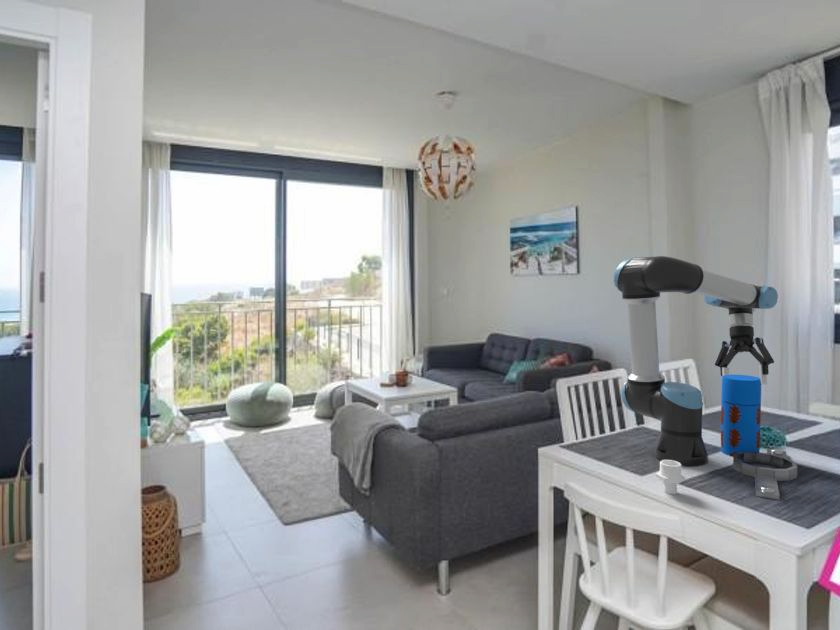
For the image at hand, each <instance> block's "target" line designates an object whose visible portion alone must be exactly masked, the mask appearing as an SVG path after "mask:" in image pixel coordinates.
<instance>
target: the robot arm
mask: <svg viewBox="0 0 840 630" xmlns="http://www.w3.org/2000/svg"><path fill="white" fill-rule="evenodd" d="M613 282H614V286H615V287H616V288H617V290H618V292H620V293H622V295H621V296H622V300H623V301H624V302H626V304H627V313H628V315H627V316H628V328H629V329H628V330H629V345H630V361H631V363H630V365H631V372H630V374H628V376H627V380H626V381H625V382H624V383H623V386H622V387H621V390H620V393H621V400H622V403H623V405H624V407H625V408H626V409H627V410H629V411H630V412H633V413H634V414H637V415H639V416H645V417H649V418H651V419H654V420H658V421H660V433H659V437H658V439H657V441H656V444H655V447H654V456H655V458H656V459H657V460H660V461H662V460H674V461H677V462H679V463H681V466H685V467H698V466H705V465H706V464H708V462H709V454H708V450H707V447H706V445H705V442H704V440H703V406H704V403H703V401H704V400H703V394H702V392H701V390H700V389H699V388H697V387H696V386H694V385H690V384H687V383H683V382H675V381H668V382H667V381H666V378H665V375H663V373H661V372H660V362H659V361H660V359H659V345H658V344H659V340H658V328H657V325H658V323H657V307H656V303H657V300H658V299H659V298H661V293H682V294H686V295H690V294H697V295H703V301H705V303H706V304H708V305H709V306H710V305H711V307H712V306H713V307H718V308H723V309H727V310H728V323H729V324H728V325H729V338H730V341H726V340H723V341H722V342H721V348H720V350H719V353H718V355H717V358H716V361H715V363H714V366H715V367H718V368H719V371H720V376H721V378H722V377H723V376H724V375H730V368H729V367H728V366H729V365H730V363H731V362H732V360H733V359H734V358H735V357H736V355H738V353H744V352H745V353H748V352H749V353H750V354H751V355H752V357H754V359H755V360H756V361H757V362H759V363H760V364H758V376H759V377H758V378H760V379H761V385H765V386H766V385H767V386H768V381H767V380H768V377H767V376H768V375H769V365H771V364H774V363H775V360H774V359H773V357H772V355H771V353H770V352H769V350H768V349H767V347H766V345H765V344H764V343H765V342H764V338H762V337H758V336H757V337H755V338H754V336H755V331H754V330H755V328H754V314H753V309H757V310H758V309H760V310H764V309H765V310H766V309H767V310H768V309H772V308H774V307H775V306H776V305H777V304H778V298H779V294H778V291H777V289H776V288H775V287H773V286H766V285H756V284H752V283H751V284H750V283H747V282H744V281H741V280H738V279H735V278H731V277H728V276H724V275H722V274H721V275H720V274H717V273H714V272H711V271H707V270H703V268H702V267H701V266H700V265H699V264H695V263H693V262H689V261H686V260H682V259H678V258H675V257H671V256H665V255H660V256H659V255H657V256H646V257H645V256H642V257H636V256H635V257H632V258H626V259H625V260H622V261H621V262H620V263H619V265H618V266H617V267H616V269H615V270H614V274H613ZM754 344H755V345H756V347H757V349H758V350H759V352H758V350H757V349H756V347H754Z"/></svg>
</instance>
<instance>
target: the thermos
mask: <svg viewBox="0 0 840 630" xmlns="http://www.w3.org/2000/svg"><path fill="white" fill-rule="evenodd" d="M720 402H721V403H720V404H721V406H720V409H721V410H720V412H721V413H720V447H721V448H720V450H721V453H722V454H724V455H726V456H728V455H729V457H731V458H733V454H736V453H739V452H760V450H761V449H760V447H761V416H762V415H761V411H762V409H761V408H762V407H761V406H762V404H761V403H762V384H761V379H760V378H759V377H758V376H755V375H747V374H729V375H724V376H723V377H722V376H721V401H720Z"/></svg>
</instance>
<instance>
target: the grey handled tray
mask: <svg viewBox="0 0 840 630" xmlns="http://www.w3.org/2000/svg"><path fill="white" fill-rule="evenodd" d="M732 459H733V460H732V462H733V463H732V468H733V469H734V470H736V471H737V472H738V473H740V474H742V475H745V476H748V477H752V478H754V486H755V496H756V497H758V498H759V497H761V498H765V499H771V500H777V501H780V500H781V499H780V498H781V497H780V490H779V485H778V482H781V481H783V482H784V481H785V482H786V481H787V482H788V481H792V480H795V479H797V478H798V465H797V462H795V461H793V460H791V459H789V458H788V454H787V451H786V450H781V449H779V448H766V452H760V451H759V452H739V453H736V454H733V457H732ZM757 462H758V463H759V464H764V463H765V464H766V465H771V466H774V467H778V468H768V467H761V466H756V465H753V464H751V463H757ZM749 463H750V464H749ZM765 464H764V465H765Z"/></svg>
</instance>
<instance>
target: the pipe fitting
mask: <svg viewBox="0 0 840 630" xmlns="http://www.w3.org/2000/svg"><path fill="white" fill-rule="evenodd" d="M655 477H656V478H657V479H658V480H660V481H663V487H662V488H663V492H664V493H665V494H668V495H676V494H678V493H677V492H678V484H681V483H682V482H684V481H685V480H686V475H684V474H683V473H682V465H681V463H679V462H677V461H674V460H660V461H659V470H658V471H657V472H656V473H655Z"/></svg>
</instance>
